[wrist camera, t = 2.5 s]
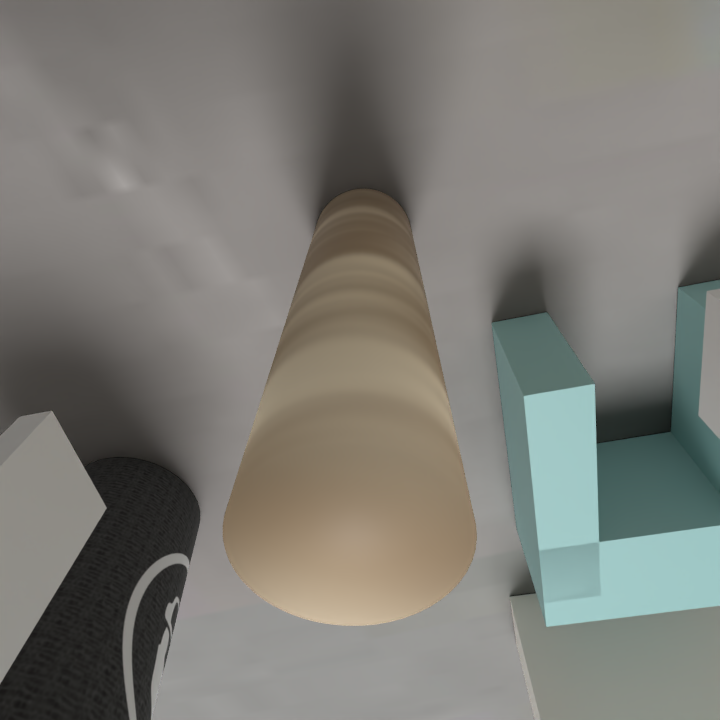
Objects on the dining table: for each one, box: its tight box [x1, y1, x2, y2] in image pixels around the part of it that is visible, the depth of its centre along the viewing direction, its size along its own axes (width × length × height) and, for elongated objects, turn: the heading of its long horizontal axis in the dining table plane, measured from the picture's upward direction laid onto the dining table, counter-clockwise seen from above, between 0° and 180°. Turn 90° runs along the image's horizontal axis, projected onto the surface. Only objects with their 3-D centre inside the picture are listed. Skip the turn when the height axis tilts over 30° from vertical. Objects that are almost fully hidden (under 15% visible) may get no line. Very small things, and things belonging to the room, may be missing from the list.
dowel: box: [223, 189, 477, 626], centre depth 15 cm, size 4×4×15 cm
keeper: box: [492, 280, 720, 627], centre depth 22 cm, size 12×9×6 cm
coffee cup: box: [0, 458, 200, 720], centre depth 21 cm, size 10×10×15 cm
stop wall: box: [510, 593, 720, 720], centre depth 27 cm, size 4×11×9 cm, turn 102°
